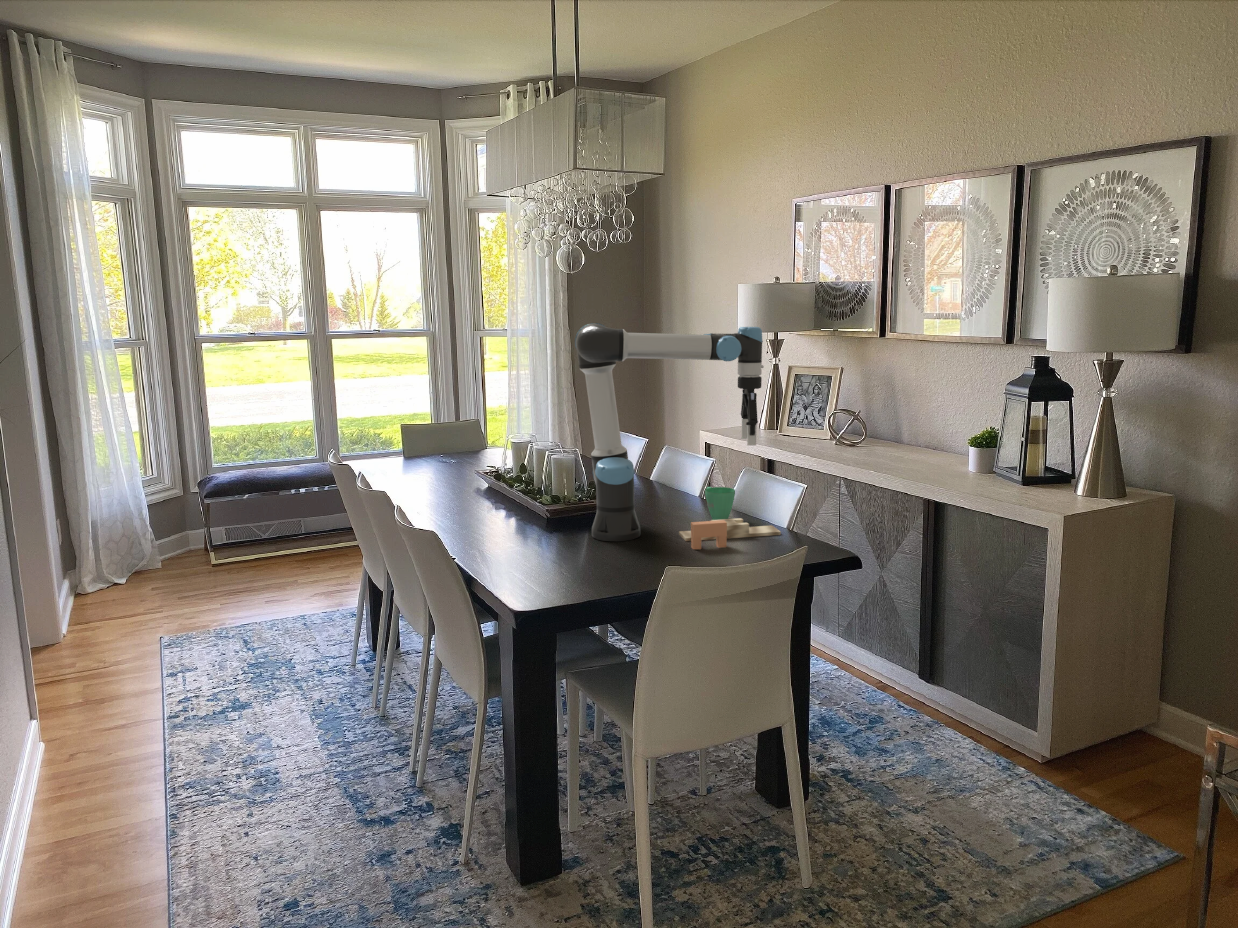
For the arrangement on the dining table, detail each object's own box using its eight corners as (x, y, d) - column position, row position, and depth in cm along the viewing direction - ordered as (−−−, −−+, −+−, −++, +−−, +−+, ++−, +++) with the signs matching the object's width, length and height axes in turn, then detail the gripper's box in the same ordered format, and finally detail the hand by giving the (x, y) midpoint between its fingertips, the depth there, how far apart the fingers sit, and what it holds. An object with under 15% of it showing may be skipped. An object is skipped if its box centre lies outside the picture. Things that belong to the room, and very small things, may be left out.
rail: (685, 541, 277) (685, 528, 276) (679, 534, 285) (678, 522, 284) (780, 534, 282) (780, 522, 282) (771, 528, 290) (772, 516, 289)
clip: (693, 549, 268) (693, 524, 267) (691, 547, 271) (690, 522, 269) (726, 547, 270) (726, 522, 268) (723, 544, 273) (723, 520, 271)
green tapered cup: (740, 521, 299) (740, 491, 297) (713, 524, 296) (713, 494, 294) (720, 512, 313) (720, 483, 311) (693, 515, 309) (693, 485, 307)
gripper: (767, 379, 281) (766, 448, 285) (755, 372, 305) (754, 435, 309) (743, 379, 281) (742, 448, 285) (732, 372, 305) (732, 436, 309)
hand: (748, 442), depth 297 cm, fingers open, 13 cm apart
